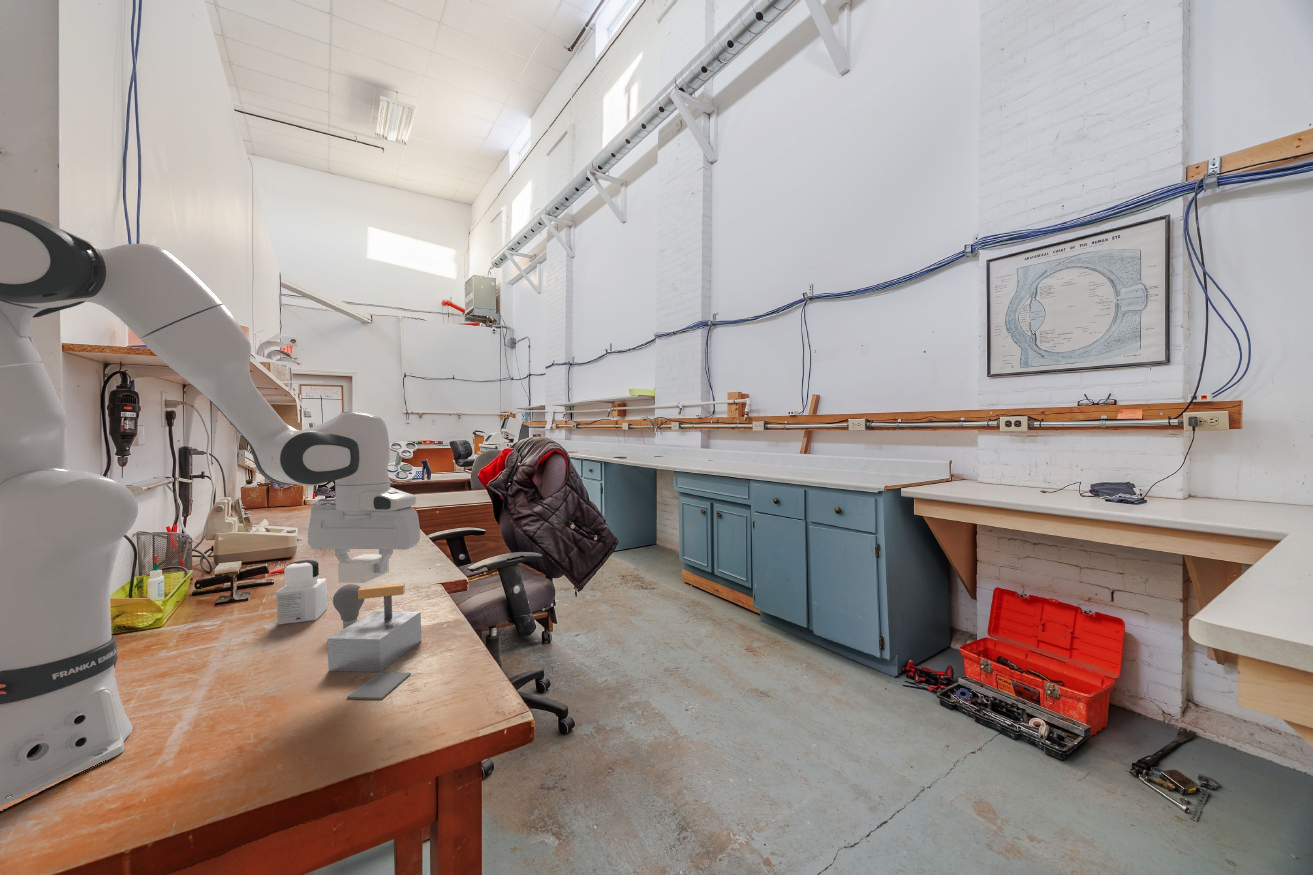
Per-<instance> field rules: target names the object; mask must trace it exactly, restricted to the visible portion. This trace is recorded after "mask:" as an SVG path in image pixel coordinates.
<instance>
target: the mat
mask: <svg viewBox="0 0 1313 875" xmlns="http://www.w3.org/2000/svg"><path fill="white" fill-rule="evenodd" d="M411 674H412V672H402V671H401V672H400V671H399V672H398V671H397V672H396V671H395V672H394V671H382V672H376V674H374V675H373V676H372V677H371V678H369V679H368V680H367V681H365V682H364V683H363V684H361V685H360V686H359V687H358V688H356V689H355V690H353V691H352V692H351V693H350V694H348V695H346V699H351V700H352V699H353V700H354V699H355V700H384V698H386V695H387V696H389V694H390V693H391V692H393V690H395V689H396V688H397V687H398V686H399V685H400V684H401V683H403V682H404V681H405V680H406V679H407V678H408V677H410V676H411ZM395 687H396V688H395ZM394 688H395V689H394Z"/></svg>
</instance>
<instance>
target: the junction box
mask: <svg viewBox="0 0 1313 875" xmlns="http://www.w3.org/2000/svg"><path fill="white" fill-rule="evenodd" d="M421 614H422V612H421V611H396V610H395V611H393V610H392V617H391V618H387V619H386V618H384V611H381V610H380V611H379V610H376V611H373V612H370V613H369V614H367V615H366V616H364V617H362V618H360V619H358V620H357V622H355V623H353V624H352V625H350V626H348V627H346V628H345V629H341V630H339V631H338V632H336V633H334V634H333V635H331V636H329V637H327V657H328V658H327V660H328V661H327V662H328V663H327V664H328V665H327V666H328V671H329V672H360V673H378V672H384V671H385V669H387V668H388V667H389V666H390V665H392V664H393V663H395V662H396V661H397V660H398V659H400V658H401V657H402V656H403V655H405V654H406V653H407V652H408V651H410V650H411V649H412V648H414V647H415V646H417V645H418V644H419V643H420V642H421V641H422V621H421V620H422V617H421Z"/></svg>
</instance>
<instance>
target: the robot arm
mask: <svg viewBox="0 0 1313 875" xmlns="http://www.w3.org/2000/svg"><path fill="white" fill-rule="evenodd" d="M85 303H92V304H96V305H98V306H101V307H103V308H105V309H106V310H108V311H109V312H111V313H112V314H113V315H115V316H116V317H117V318H119V320H120V321H122V322H123V323H124V324H125V326H127V327H128V328H129V329H130V330H131V331H132V333H134V335H136V337H137V338H138V339H139V340H140V341H141V342H142V344H144V345H145V346H146V347H147V348H148V349H149V350H150V351H151V352H152V353H154V354H155V355H156V356H157V357H158V358H159V359H160V360H161V361H162V362H163V363H164V364H166V365H167V366H168V367H169V368H170V369H171V370H173V371H174V372H176V374H178V375H179V376H181V377H182V378H183V379H184V380H185V381H187V383H189V384H191V386H193V387H194V388H195V389H197V390H198V391H199V392H201V394H203V395H204V397H206V398H207V399H208V400H209V401H210V402H211V403H212V404H213V405H214V407H215V408H216V409H218V411H219V412H220V413H221V414H222V415H223V416H224V417H225V419H227V421H228V422H229V423H230V424H231V425H232V426H233V427H234V428H235V429H236V431H237V432H238V433H239V434H240V435H241V436H242V438H244V440H245V441H246V443H247V444H248V446H249V449H250V451H251V454H252V459H253V462H254V464H255V467H256V469H257V471H258V473H260V475H262V477H264V478H265V479H266V480H268V481H270V482H271V483H274V484H277V485H281V486H282V485H283V486H293V485H294V486H295V485H296V486H297V485H298V486H308V487H309V486H318V485H322V484H325V483H329V482H335V486H334V488H335V490H334V491H335V493H334V494H335V495H334V496H335V498H331V499H330V498H329V499H328V498H320V499H318V500H317V501H315V502H314V503H313V504H312V505H311V507H310V518H309V522H308V523H309V524H308V531H307V544H308V546H309V548H311V549H313V550H317V549H318V550H334V555H335V557H336V559H337V560H338V562H339V563H340V562H343V561H346V560H349V559H351V558H350V556H349V554H348V553H350V551H351V550H378V554H379V555H382V556H381V558H380V560H379V562H378V563H375V564H374V573H384V572H386V571H387V562H388V560H389V561H390V559H391V557H392V555H393V553H394V550H409V549H413V548H414V547H416V546H417V545H418V543H419V542H420V540H421V528H420V520H419V519H420V518H419V513H418V512H417V509H415V508H414V507H413V506H416V503H417V498H416V496H415V495H414V494H412V493H409V492H405V491H403V490H400V489H396V488H394V487H391V478H390V476H389V472H388V467H389V463H390V459H391V454H390V439H389V431H388V428H387V424H386V422H385V420H383V419H382V418H381V417H379V416H377V415H374V414H370V413H367V412H366V413H364V412H356V411H343V412H342V411H341V412H340V413H339V414H338V415H337V416H334V417H333V418H332V419H329V420H327V421H325V422H322V423H320V424H317V425H314V426H311V427H309V428H306V429H302V430H300V429H296V428H294V427H292V426H291V425H289V424H288V423H286V422H285V421H284V420H283V419H282V417H281V416H280V415H279V414H278V413H277V411H276V410H275V409H274V408H273V406H271V404H270V403H269V402H268V401H267V399H266V398H265V397H264V396H263V395H262V393H261V392H260V391H259V389H258V388H257V387H256V385H255V383H254V381H253V379H252V375H251V366H250V362H251V355H252V344H251V342H250V339H249V338H248V337H247V335H246V333H245V331H244V329H243V328H242V326H241V325H240V323H239V322H238V320H237V319H236V318H235V316H234V315H233V313H231V311H230V310H229V309H228V308H227V307H226V305H224V303H223V302H222V300H220V298H219V297H218V296H217V295H216V294H215V293H214V292H213V291H212V290H211V289H210V288H209V287H208V286H207V285H206V284H205V283H204V282H203V281H202V280H201V279H200V278H199V277H198V276H197V275H196V274H195V273H194V272H193V271H191V269H189V268H188V267H187V265H185V264H184V263H183V262H181V261H180V260H179V259H178V258H176V257H175V256H174V255H173V254H172V253H171V252H169V251H167V250H166V249H164V248H162V247H159V246H156V245H153V244H152V245H151V244H148V243H129V244H127V243H126V244H122V245H118V246H114V247H110V248H104V249H99V248H98V247H97V246H96V245H95V244H94V243H92V242H90V241H88V240H85V239H83V238H81V237H78V236H76V235H74V234H72V233H70V232H68V231H66V230H64V229H62V228H60V227H58V226H57V225H54V224H53V223H49V222H48V221H46V220H43V219H40V218H38V217H36V216H33V215H30V214H27V213H24V212H20V211H17V210H11V209H4V208H0V807H1V806H2V805H5V804H6V803H9V802H11V801H14V800H15V799H18V798H21V797H23V796H25V795H26V794H30V793H32V792H35V791H37V790H40V789H41V788H43V787H46V786H48V785H50V784H52V783H54V782H56V781H59V780H60V779H63V778H65V777H67V776H69V775H72V774H73V773H75V772H80V771H82V770H85V769H86V768H89V767H91V766H94V765H95V764H98V763H100V762H102V763H104V762H106V761H108V760H111V759H112V758H114V757H116V756H118V755H120V754H122V753H123V751H125V743H124V742H125V740H126V739H127V738H128V737H129V735H130V734H131V732H132V731H133V728H134V727H133V724H132V722H131V721H130V719H129V716H128V715H127V714H126V709H125V708H124V705H123V702H122V700H121V695H120V692H119V688H118V683H117V679H116V678H117V677H116V671H115V668H116V666H117V662H118V648H117V647H118V646H117V638H116V636H115V635H112V615H111V586H112V585H111V582H112V576H113V571H114V568H115V564H116V561H117V557H118V553H119V549H120V547H121V544H122V543H121V542H122V540H123V537H125V535H126V534H127V533H128V532H129V531H130V530H131V529H132V527H133V526H134V524H135V523H136V521H137V517H138V513H139V507H138V506H139V504H138V501H137V498H136V496H135V495H134V493H133V492H132V491H131V490H130V489H129V488H128V487H127V486H125V485H124V484H122V483H120V482H117V481H116V480H114V479H112V478H110V477H107V476H104V475H102V474H98V473H95V472H91V471H83V470H82V471H81V470H72V469H71V467H70V465H69V461H68V456H67V448H66V442H65V441H66V440H65V437H66V436H65V432H66V427H67V425H68V420H69V419H68V414H67V413H66V410H65V408H64V405H63V404H62V402H61V399H60V398H59V395H58V392H57V391H56V390H57V389H56V388H55V386H54V384H53V381H52V379H51V377H50V375H49V373H48V371H47V368H46V366H45V364H44V362H43V359H42V357H41V355H40V353H39V351H38V349H37V347H36V344H35V342H34V340H33V337H32V333H31V327H30V325H31V324H30V323H31V320H32V318H34V319H35V318H40V317H43V316H47V315H49V314H52V313H56V312H59V311H63V310H66V309H70V308H73V307H78V306H79V305H82V304H85ZM105 760H106V761H105ZM103 761H104V762H103ZM100 764H101V763H100ZM98 765H99V764H98ZM94 767H95V766H94ZM9 796H11V797H9ZM7 797H9V798H7Z"/></svg>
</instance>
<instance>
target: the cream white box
mask: <svg viewBox="0 0 1313 875" xmlns="http://www.w3.org/2000/svg"><path fill="white" fill-rule="evenodd" d="M381 556H382V555H379V553H363V554H360V555H357V556H355V557H353V558H350V559H349V560H346V561H343V562H339V563H338V565H337V567H338V569H337V570H338V571H337V572H338V574H337V576H338V579H337V580H338V582H337V583H343V584H344V583H345V584H346V583H347V584H350V583H351V584H354V583H356V584H363V583H364V584H365V583H367V582H371V581H372V580H375V579H377V578H379V577H381V576H383V575H385V574H387V573H389V572H390V559H389V560H388V562H387V571H386V572H384V573H374V564H375V563H378V562H379V560H380V558H381Z"/></svg>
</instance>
